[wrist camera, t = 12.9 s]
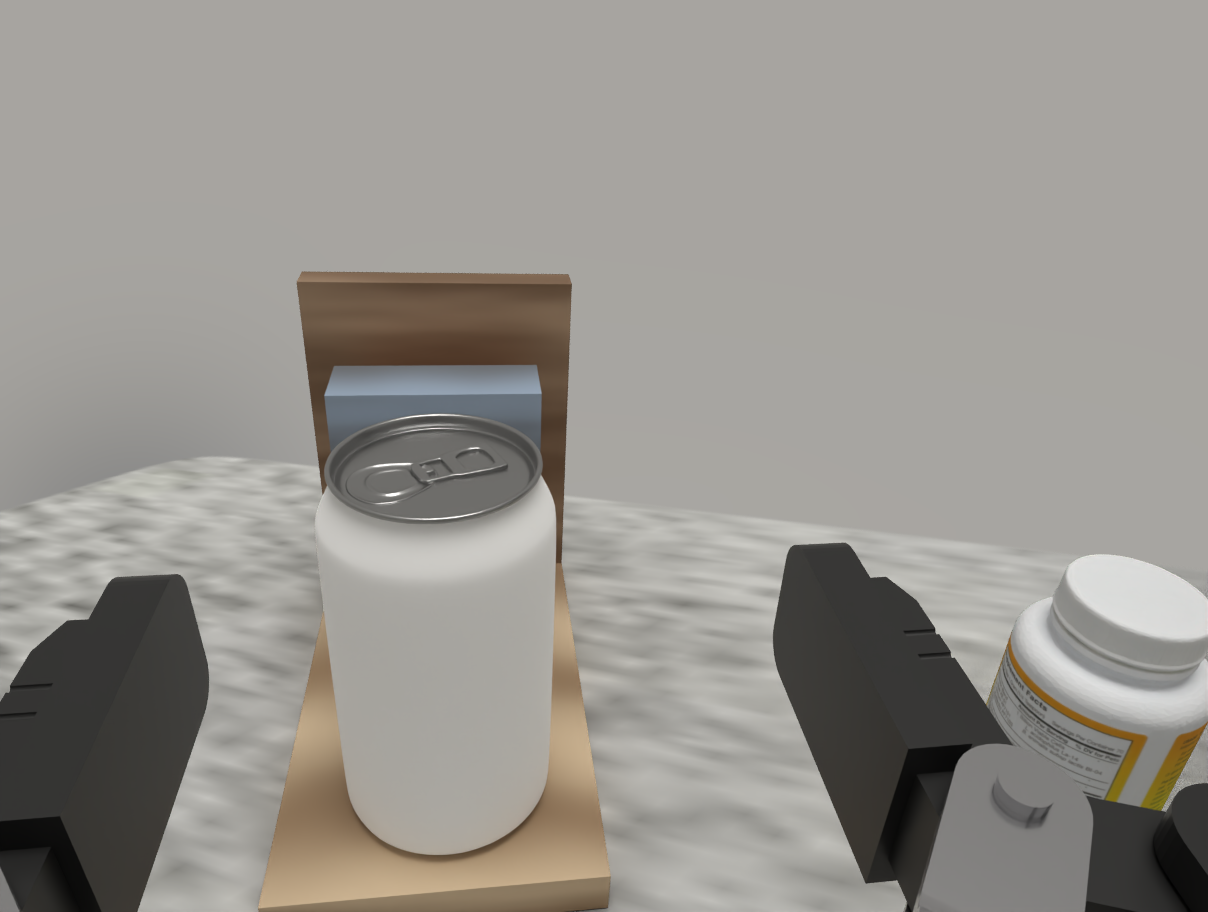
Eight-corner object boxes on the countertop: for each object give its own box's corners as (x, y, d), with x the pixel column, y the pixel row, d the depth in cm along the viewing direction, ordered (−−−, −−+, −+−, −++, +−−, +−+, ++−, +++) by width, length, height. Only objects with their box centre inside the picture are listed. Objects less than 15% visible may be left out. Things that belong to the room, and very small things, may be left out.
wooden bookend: (607, 907, 27) (643, 507, 20) (265, 940, 25) (170, 521, 18) (557, 568, 41) (567, 271, 34) (339, 577, 40) (303, 268, 33)
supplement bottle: (1083, 771, 32) (1189, 544, 27) (1158, 912, 27) (1302, 668, 22) (932, 758, 32) (1009, 530, 28) (980, 896, 28) (1084, 650, 23)
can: (322, 748, 29) (275, 434, 24) (495, 681, 33) (492, 390, 27) (391, 903, 25) (355, 559, 19) (585, 806, 28) (605, 487, 22)
